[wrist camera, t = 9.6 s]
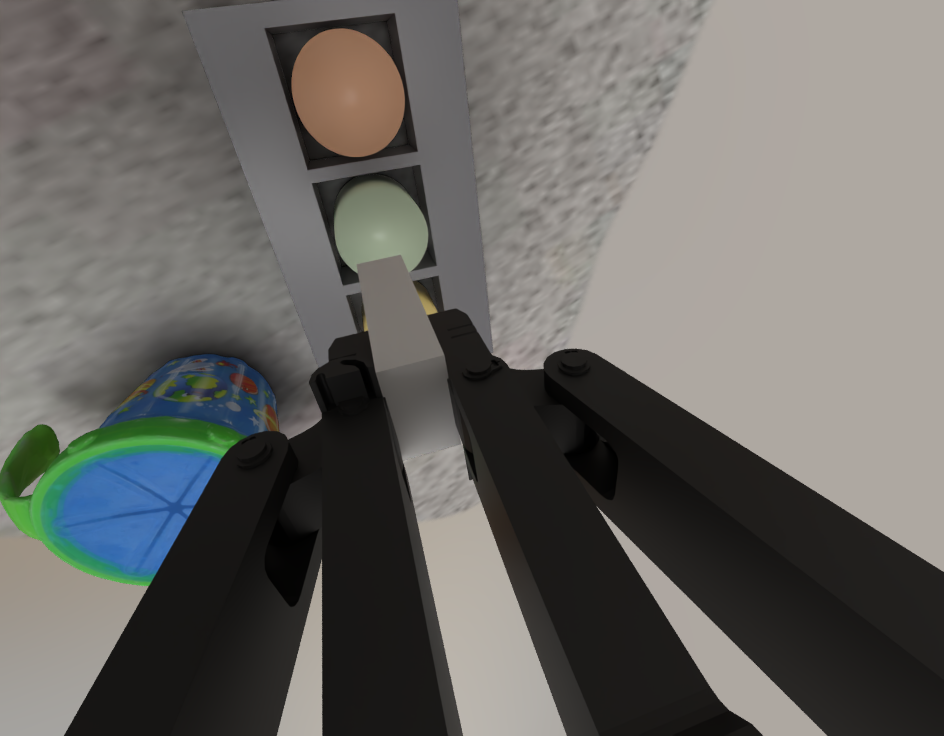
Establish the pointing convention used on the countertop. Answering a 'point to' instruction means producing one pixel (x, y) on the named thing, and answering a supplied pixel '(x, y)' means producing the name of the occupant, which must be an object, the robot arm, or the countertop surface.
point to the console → (294, 177)
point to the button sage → (378, 222)
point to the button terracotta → (348, 92)
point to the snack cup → (136, 467)
